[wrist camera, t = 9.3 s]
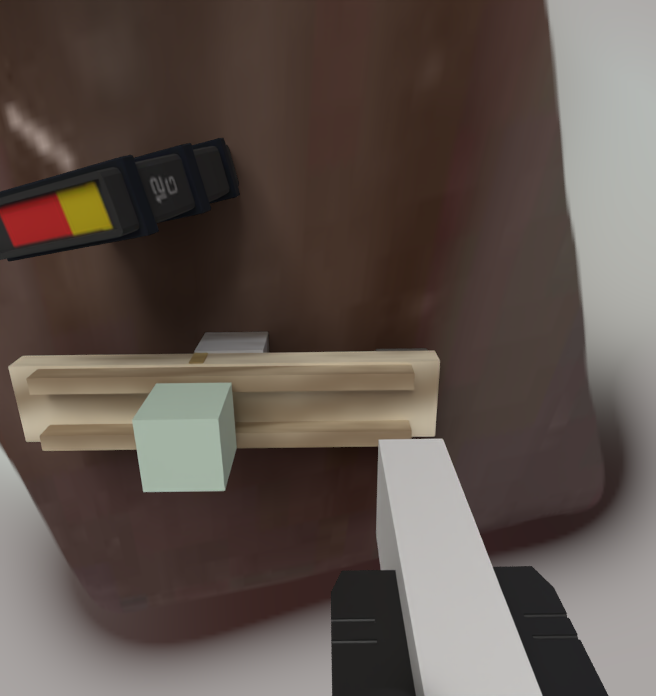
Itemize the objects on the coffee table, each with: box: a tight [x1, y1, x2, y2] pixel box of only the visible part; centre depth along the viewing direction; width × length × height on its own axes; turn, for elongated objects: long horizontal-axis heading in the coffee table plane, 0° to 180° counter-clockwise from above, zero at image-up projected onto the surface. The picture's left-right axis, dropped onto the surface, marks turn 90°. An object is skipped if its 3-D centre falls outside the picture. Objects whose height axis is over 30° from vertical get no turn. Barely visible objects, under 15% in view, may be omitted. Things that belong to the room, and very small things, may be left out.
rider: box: [132, 383, 237, 492], centre depth 36 cm, size 5×5×7 cm
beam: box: [8, 332, 440, 451], centre depth 42 cm, size 6×30×8 cm, turn 91°
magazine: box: [0, 138, 240, 261], centre depth 35 cm, size 4×13×15 cm, turn 103°
